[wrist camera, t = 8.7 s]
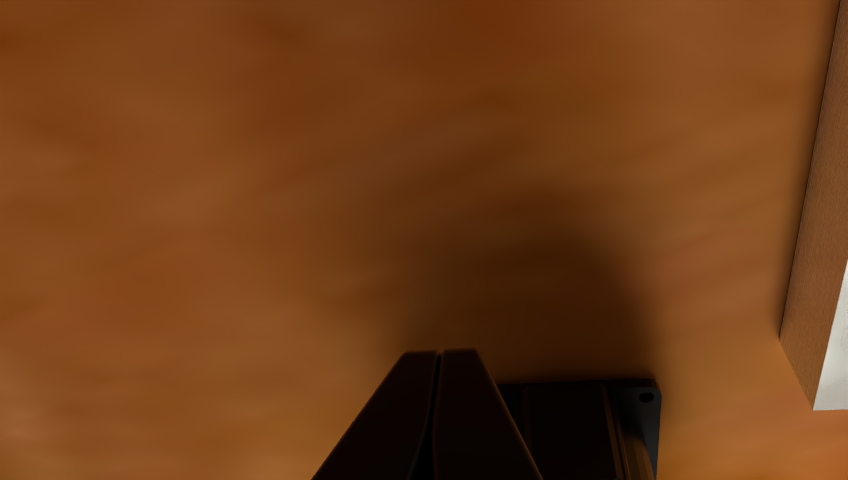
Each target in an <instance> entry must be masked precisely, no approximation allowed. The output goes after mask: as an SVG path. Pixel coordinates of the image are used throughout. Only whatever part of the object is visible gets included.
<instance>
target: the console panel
mask: <svg viewBox="0 0 848 480" xmlns="http://www.w3.org/2000/svg"><path fill="white" fill-rule="evenodd" d="M779 342H780V344H781V346H782V348H783V350H784V352H785V354H786V356H787V358H788V360H789V362H790V364H791V366H792V368H793V370H794V373H795V375H796V377H797V379H798V381H799V383H800V385H801V387H802V389H803V391H804V393H805V395H806V397H807V399H808V401H809V404H810V406H811V408H812V410H838V409H848V0H841V1H840V7H839V12H838V18H837V23H836V29H835V35H834V40H833V46H832V51H831V57H830V62H829V68H828V73H827V79H826V84H825V90H824V95H823V101H822V106H821V112H820V117H819V123H818V128H817V134H816V139H815V145H814V150H813V156H812V162H811V167H810V173H809V178H808V184H807V189H806V195H805V200H804V206H803V211H802V217H801V222H800V228H799V233H798V239H797V244H796V250H795V255H794V261H793V266H792V272H791V277H790V283H789V288H788V294H787V300H786V305H785V311H784V316H783V322H782V327H781V333H780V338H779Z"/></svg>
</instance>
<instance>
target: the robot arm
mask: <svg viewBox="0 0 848 480" xmlns="http://www.w3.org/2000/svg"><path fill="white" fill-rule="evenodd" d="M645 392H649V393H647V394H642V393H645ZM660 412H661V393H660V389H659V385H658V383H657V382H656V381H654V380H652V379H645V378H644V379H622V380H599V381H577V382H554V383H532V384H509V385H496V384H495V382H494V380H493V378H492V376H491V374H490V372H489V370H488V368H487V366H486V364H485V362H484V360H483V358H482V356H481V354H480V352H479V351H478V350H477V349H475V348H458V349H445V350H444V351H443V352H442V354H440V353H439V352H438V351H437V350H419V351H407V352H405V353H403V354H402V355H401V356H400V358H399V359H398V360H397V362H396V363H395V365H394V366H393V367H392V369H391V370H390V371H389V373H388V374H387V376H386V377H385V378H384V380H383V381H382V382H381V384H380V385H379V387H378V388H377V389H376V391H375V392H374V394H373V395H372V396H371V398H370V399H369V400H368V402H367V403H366V405H365V406H364V407H363V409H362V410H361V411H360V413H359V414H358V416H357V417H356V418H355V420H354V421H353V422H352V424H351V425H350V427H349V428H348V429H347V431H346V432H345V434H344V435H343V436H342V438H341V439H340V440H339V442H338V443H337V445H336V446H335V447H334V449H333V450H332V451H331V453H330V454H329V456H328V457H327V458H326V460H325V461H324V462H323V464H322V465H321V467H320V468H319V469H318V471H317V472H316V474H315V475H314V476H313V478H312V479H311V480H656V474H657V458H658V443H659V427H660Z"/></svg>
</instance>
